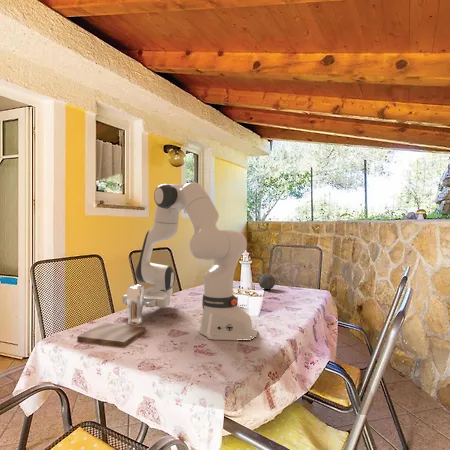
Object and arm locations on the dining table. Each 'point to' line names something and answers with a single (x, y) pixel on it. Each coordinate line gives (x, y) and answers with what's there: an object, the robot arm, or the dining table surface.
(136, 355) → the dining table surface
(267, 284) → the decorative ball
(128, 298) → the beer glass
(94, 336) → the walnut board
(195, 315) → the dining table surface
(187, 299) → the dining table surface
